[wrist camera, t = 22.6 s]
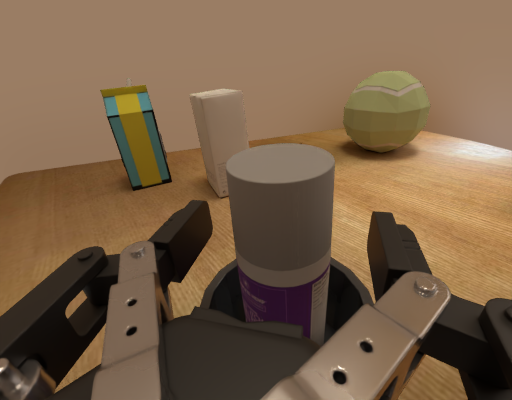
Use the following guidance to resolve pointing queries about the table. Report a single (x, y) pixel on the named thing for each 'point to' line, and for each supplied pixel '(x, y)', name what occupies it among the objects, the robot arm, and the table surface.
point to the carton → (137, 135)
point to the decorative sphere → (386, 111)
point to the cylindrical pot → (338, 299)
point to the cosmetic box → (220, 132)
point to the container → (283, 232)
